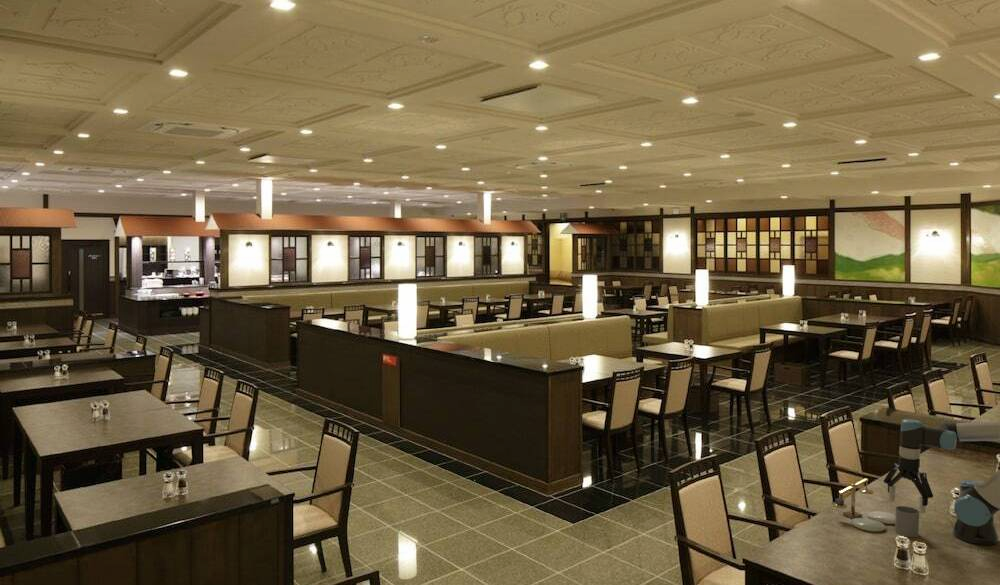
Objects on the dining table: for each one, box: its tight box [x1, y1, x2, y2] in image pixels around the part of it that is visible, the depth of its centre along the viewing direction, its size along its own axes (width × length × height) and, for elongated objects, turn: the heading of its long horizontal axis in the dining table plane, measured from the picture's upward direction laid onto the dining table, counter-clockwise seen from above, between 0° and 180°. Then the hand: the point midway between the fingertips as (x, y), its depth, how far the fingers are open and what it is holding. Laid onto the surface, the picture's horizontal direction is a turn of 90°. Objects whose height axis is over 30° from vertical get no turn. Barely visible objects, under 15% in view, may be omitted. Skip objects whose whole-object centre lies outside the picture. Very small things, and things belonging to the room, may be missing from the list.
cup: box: [894, 505, 920, 538], centre depth 284 cm, size 8×8×10 cm
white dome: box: [867, 510, 896, 525], centre depth 299 cm, size 13×13×1 cm
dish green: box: [850, 517, 886, 533], centre depth 291 cm, size 13×13×1 cm
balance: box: [832, 477, 875, 520], centre depth 302 cm, size 22×6×16 cm, turn 113°
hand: (906, 506), depth 284 cm, fingers open, 13 cm apart
